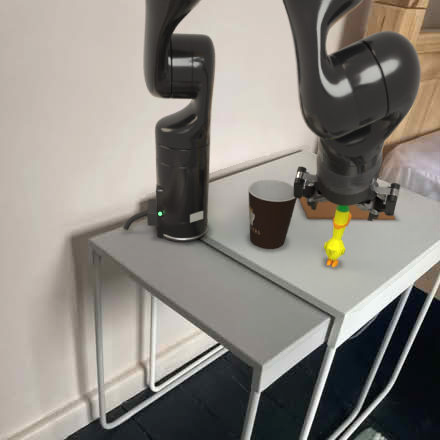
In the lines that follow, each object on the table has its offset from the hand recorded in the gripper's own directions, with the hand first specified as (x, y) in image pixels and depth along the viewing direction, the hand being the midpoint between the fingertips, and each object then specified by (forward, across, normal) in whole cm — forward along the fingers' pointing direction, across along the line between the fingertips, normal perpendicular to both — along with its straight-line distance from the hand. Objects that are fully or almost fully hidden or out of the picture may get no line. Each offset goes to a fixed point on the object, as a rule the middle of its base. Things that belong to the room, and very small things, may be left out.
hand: (342, 209), depth 76 cm
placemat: (+28, -1, +10) cm, 29 cm away
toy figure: (+12, 0, -6) cm, 13 cm away
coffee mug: (+15, -13, -3) cm, 20 cm away
